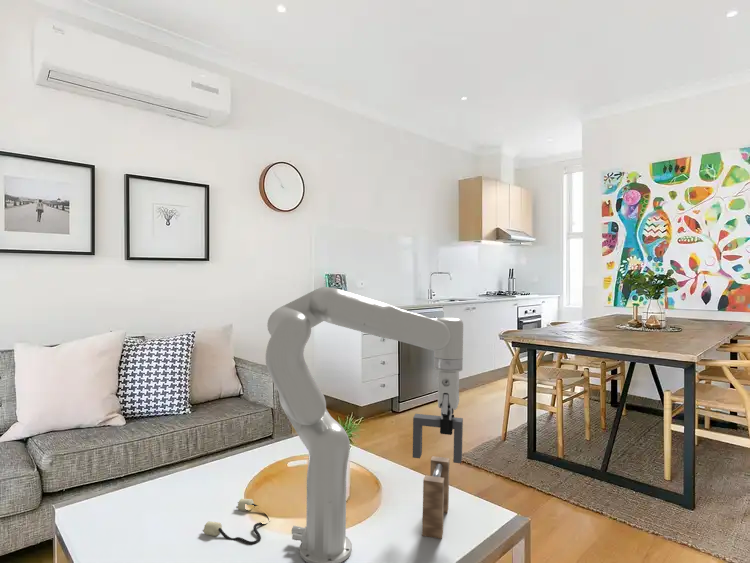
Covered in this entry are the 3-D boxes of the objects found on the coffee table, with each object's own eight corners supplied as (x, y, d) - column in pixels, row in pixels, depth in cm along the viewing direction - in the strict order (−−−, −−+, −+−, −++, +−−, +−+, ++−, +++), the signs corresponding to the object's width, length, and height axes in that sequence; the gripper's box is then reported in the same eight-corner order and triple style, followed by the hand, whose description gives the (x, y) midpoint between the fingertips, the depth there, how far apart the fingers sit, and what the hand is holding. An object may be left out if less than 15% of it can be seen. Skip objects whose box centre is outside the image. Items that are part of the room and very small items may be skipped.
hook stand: (422, 535, 120) (423, 480, 120) (431, 505, 135) (432, 456, 135) (441, 538, 119) (442, 482, 118) (448, 507, 134) (449, 458, 134)
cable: (287, 517, 129) (287, 505, 129) (251, 550, 113) (251, 537, 113) (241, 505, 134) (241, 494, 134) (200, 536, 119) (200, 523, 119)
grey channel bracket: (412, 457, 127) (413, 417, 126) (414, 452, 130) (415, 413, 130) (461, 463, 123) (461, 422, 123) (462, 458, 127) (462, 418, 126)
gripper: (460, 371, 116) (458, 444, 117) (464, 358, 132) (463, 422, 133) (430, 369, 118) (428, 440, 119) (438, 357, 134) (437, 420, 135)
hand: (447, 430), depth 126 cm, fingers closed on grey channel bracket, 3 cm apart
